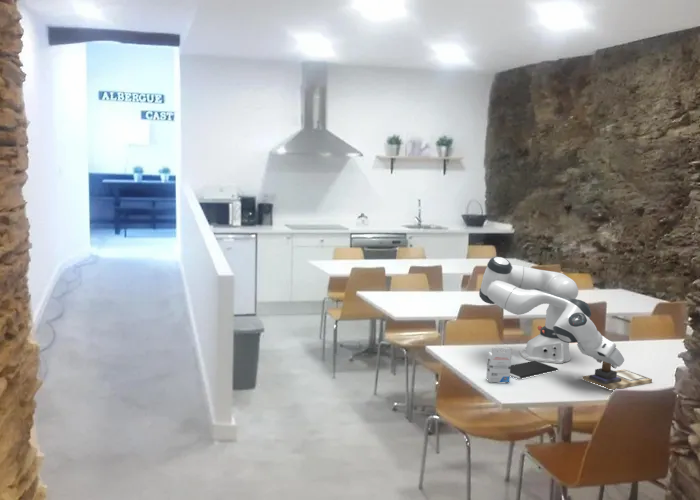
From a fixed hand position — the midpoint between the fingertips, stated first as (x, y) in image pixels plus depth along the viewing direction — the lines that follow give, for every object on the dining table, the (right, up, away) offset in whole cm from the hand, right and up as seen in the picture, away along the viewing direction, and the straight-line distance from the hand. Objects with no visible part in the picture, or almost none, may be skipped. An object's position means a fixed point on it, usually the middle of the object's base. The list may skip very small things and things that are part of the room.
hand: (607, 364), depth 288 cm
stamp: (-1, -5, 0) cm, 5 cm away
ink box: (-46, -7, -3) cm, 47 cm away
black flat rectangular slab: (-30, -6, +13) cm, 33 cm away
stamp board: (+6, -8, +5) cm, 11 cm away
